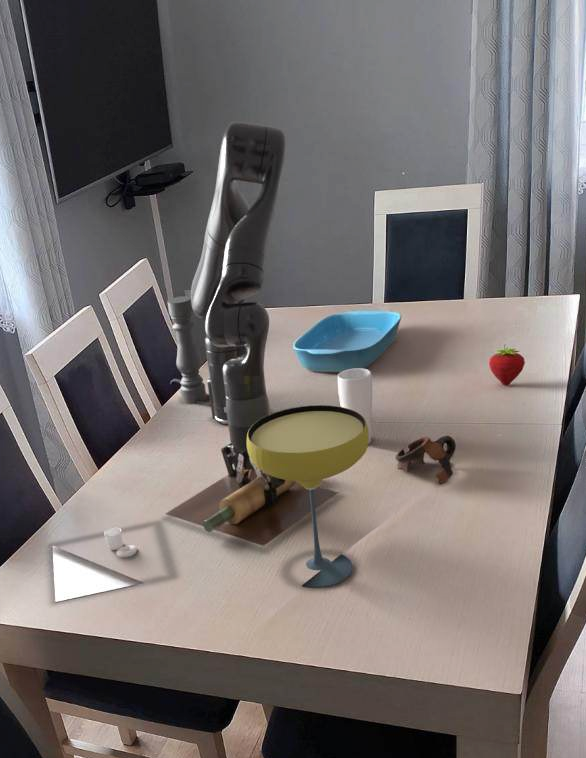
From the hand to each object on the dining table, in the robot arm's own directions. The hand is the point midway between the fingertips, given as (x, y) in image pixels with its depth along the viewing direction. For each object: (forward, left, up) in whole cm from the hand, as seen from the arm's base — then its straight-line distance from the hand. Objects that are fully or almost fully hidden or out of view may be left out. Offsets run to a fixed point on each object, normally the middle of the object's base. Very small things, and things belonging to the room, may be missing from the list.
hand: (259, 501), depth 161 cm
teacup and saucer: (-13, -27, -2) cm, 30 cm away
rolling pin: (0, 0, -1) cm, 1 cm away
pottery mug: (+19, +27, -2) cm, 33 cm away
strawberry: (+12, +72, -2) cm, 73 cm away
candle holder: (-53, +38, -2) cm, 65 cm away
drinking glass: (-1, +33, -2) cm, 33 cm away
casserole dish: (-34, +78, -2) cm, 85 cm away
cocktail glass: (+21, -11, -2) cm, 24 cm away
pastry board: (-2, 0, -2) cm, 3 cm away
